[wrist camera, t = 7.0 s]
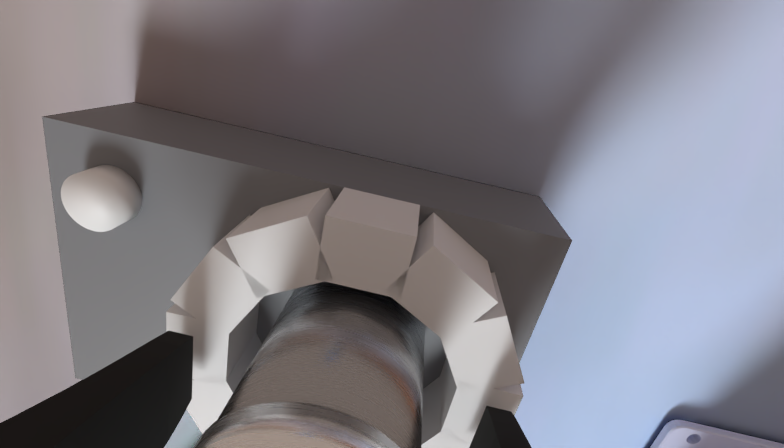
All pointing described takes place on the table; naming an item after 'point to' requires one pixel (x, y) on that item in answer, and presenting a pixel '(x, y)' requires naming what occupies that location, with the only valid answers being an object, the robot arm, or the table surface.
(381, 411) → the lens
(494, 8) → the table surface
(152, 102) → the table surface
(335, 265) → the camera body
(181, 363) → the robot arm
